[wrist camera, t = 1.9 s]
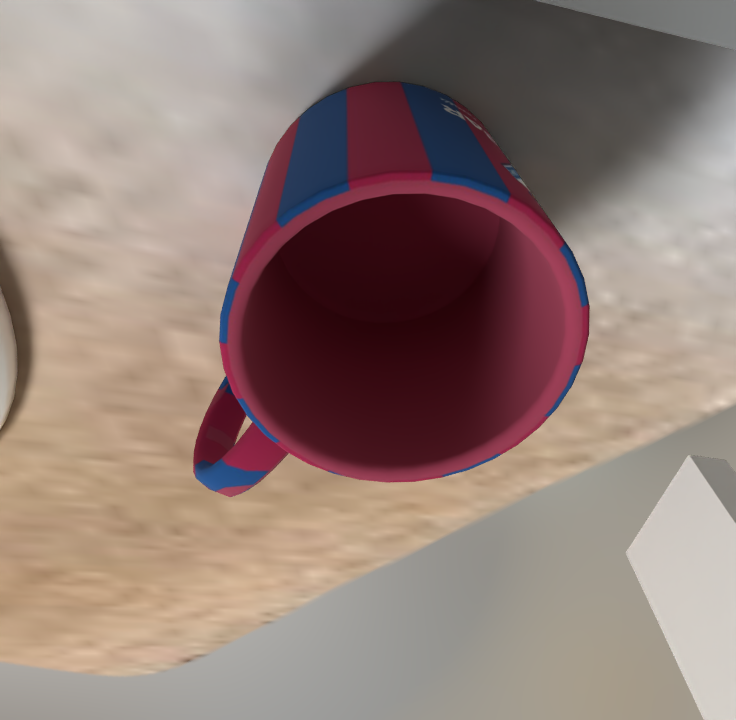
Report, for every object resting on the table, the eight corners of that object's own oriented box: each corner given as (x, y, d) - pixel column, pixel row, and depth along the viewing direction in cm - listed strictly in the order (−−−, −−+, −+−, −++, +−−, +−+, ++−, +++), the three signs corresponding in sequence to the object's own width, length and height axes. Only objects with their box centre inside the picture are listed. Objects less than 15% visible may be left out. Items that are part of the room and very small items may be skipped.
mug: (554, 229, 18) (653, 372, 12) (288, 409, 21) (267, 587, 15) (411, 16, 14) (453, 74, 9) (126, 268, 18) (26, 425, 12)
